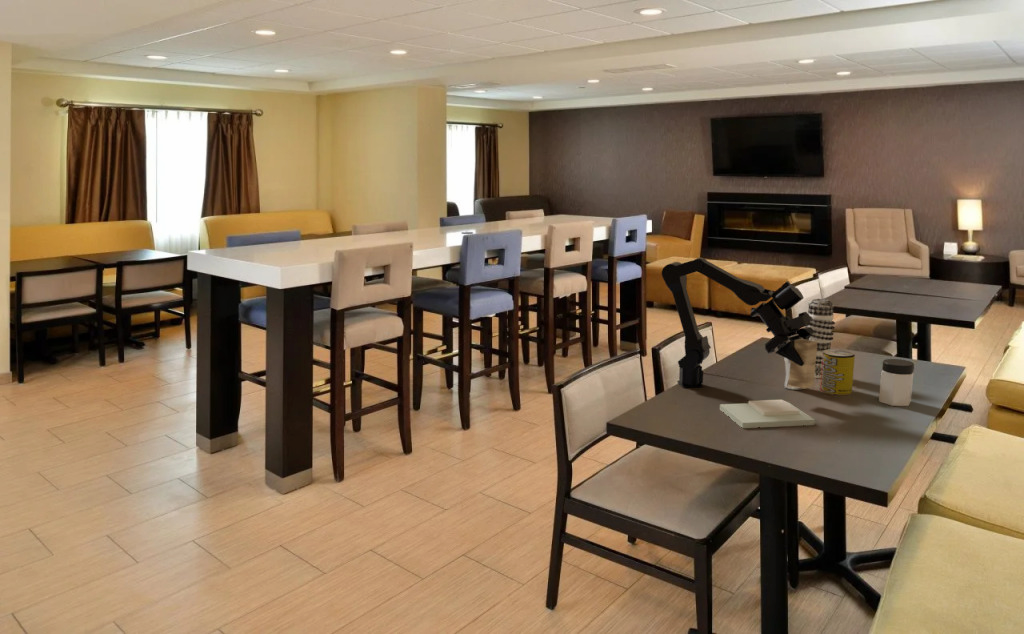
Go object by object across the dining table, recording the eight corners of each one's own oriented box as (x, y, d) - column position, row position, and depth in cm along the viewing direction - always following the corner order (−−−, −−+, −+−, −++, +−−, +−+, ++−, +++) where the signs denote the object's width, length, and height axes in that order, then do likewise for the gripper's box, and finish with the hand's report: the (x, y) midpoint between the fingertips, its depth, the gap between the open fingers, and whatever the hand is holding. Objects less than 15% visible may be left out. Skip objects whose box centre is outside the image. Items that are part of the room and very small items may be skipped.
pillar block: (788, 384, 223) (792, 341, 221) (797, 381, 226) (801, 338, 224) (804, 388, 220) (808, 344, 217) (813, 385, 223) (817, 341, 220)
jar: (918, 404, 223) (922, 364, 221) (898, 408, 220) (902, 367, 217) (891, 396, 231) (894, 357, 229) (871, 399, 228) (875, 360, 225)
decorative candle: (795, 373, 256) (800, 299, 251) (813, 369, 261) (819, 296, 256) (818, 379, 248) (823, 303, 244) (837, 375, 253) (843, 300, 248)
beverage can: (823, 385, 243) (826, 347, 241) (854, 389, 238) (857, 351, 236) (816, 392, 236) (819, 353, 233) (848, 396, 231) (851, 357, 228)
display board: (742, 428, 204) (742, 419, 203) (719, 409, 219) (720, 401, 219) (814, 425, 206) (815, 416, 206) (786, 406, 222) (787, 398, 221)
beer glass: (807, 391, 236) (811, 343, 233) (783, 390, 238) (786, 342, 235) (803, 384, 243) (807, 338, 240) (780, 383, 244) (783, 337, 241)
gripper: (777, 307, 215) (811, 353, 209) (810, 299, 227) (844, 342, 221) (750, 330, 223) (782, 375, 217) (784, 321, 235) (815, 363, 229)
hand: (807, 363), depth 221 cm, fingers closed on pillar block, 5 cm apart
